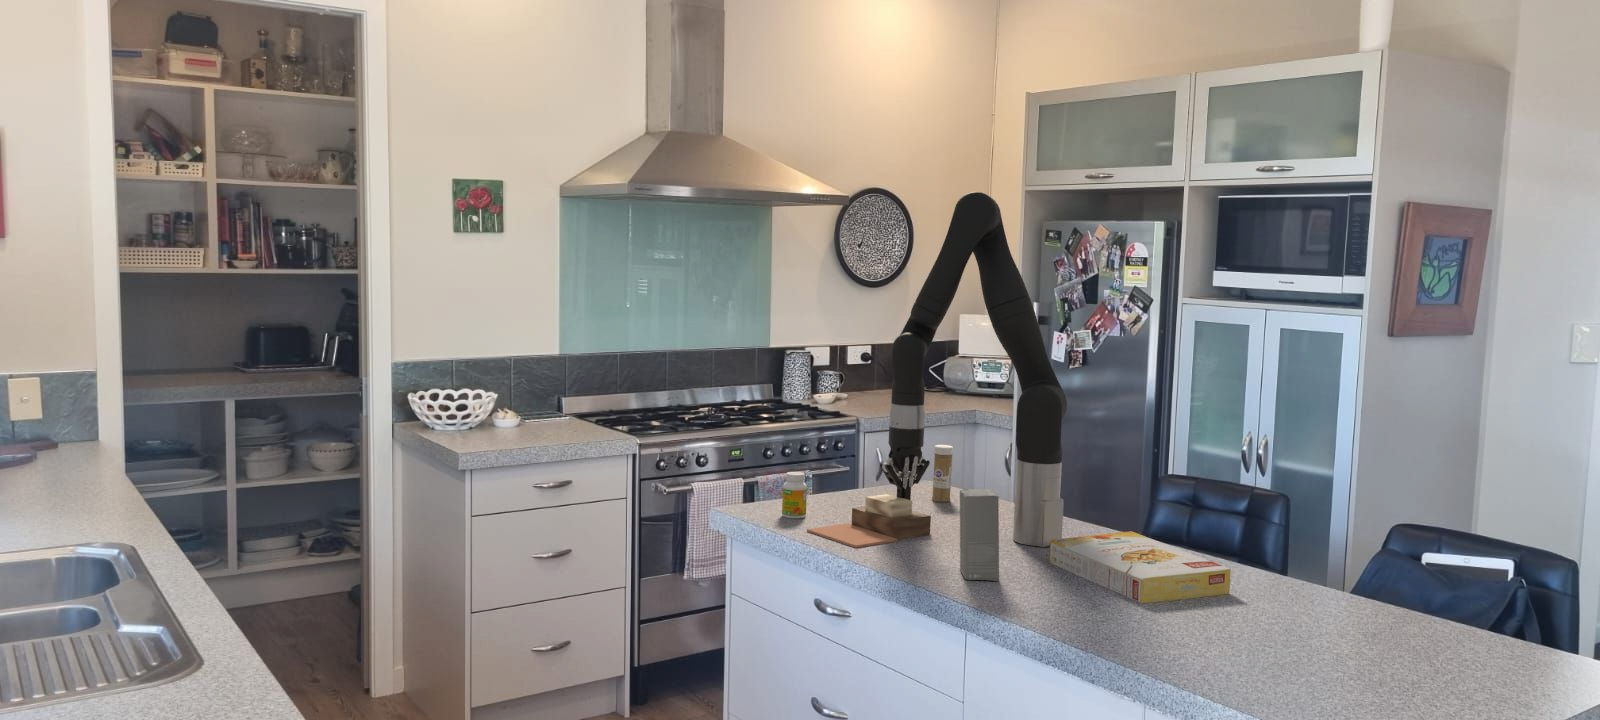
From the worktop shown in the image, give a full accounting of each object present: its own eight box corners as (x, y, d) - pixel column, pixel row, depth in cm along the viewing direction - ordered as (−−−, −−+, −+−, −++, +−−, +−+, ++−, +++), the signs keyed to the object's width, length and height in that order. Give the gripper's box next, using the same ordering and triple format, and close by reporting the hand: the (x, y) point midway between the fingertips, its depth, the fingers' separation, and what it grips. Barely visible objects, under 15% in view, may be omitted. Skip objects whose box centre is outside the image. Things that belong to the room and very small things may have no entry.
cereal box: (1131, 529, 238) (1234, 564, 212) (1130, 556, 238) (1232, 595, 213) (1048, 538, 230) (1144, 576, 204) (1047, 566, 230) (1142, 607, 205)
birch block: (911, 514, 251) (912, 500, 250) (891, 517, 247) (891, 503, 247) (885, 507, 257) (886, 494, 257) (865, 510, 253) (865, 496, 253)
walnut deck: (930, 534, 251) (930, 515, 250) (895, 539, 244) (896, 520, 244) (885, 521, 262) (886, 503, 261) (851, 526, 255) (852, 508, 255)
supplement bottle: (778, 517, 262) (780, 474, 261) (786, 512, 267) (787, 470, 266) (801, 519, 260) (803, 476, 259) (808, 515, 265) (810, 472, 264)
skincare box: (999, 582, 215) (1003, 496, 214) (960, 580, 215) (964, 495, 214) (993, 569, 224) (997, 487, 222) (955, 568, 224) (959, 486, 222)
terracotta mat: (896, 541, 243) (896, 538, 243) (856, 547, 237) (856, 545, 237) (846, 525, 256) (846, 523, 256) (806, 531, 249) (807, 529, 249)
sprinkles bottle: (929, 501, 285) (932, 446, 283) (934, 497, 289) (936, 443, 288) (948, 503, 283) (951, 447, 282) (952, 499, 287) (955, 445, 286)
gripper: (895, 429, 246) (892, 510, 248) (941, 425, 254) (937, 504, 256) (871, 424, 252) (868, 504, 254) (917, 420, 260) (914, 497, 262)
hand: (903, 504), depth 255 cm, fingers closed
